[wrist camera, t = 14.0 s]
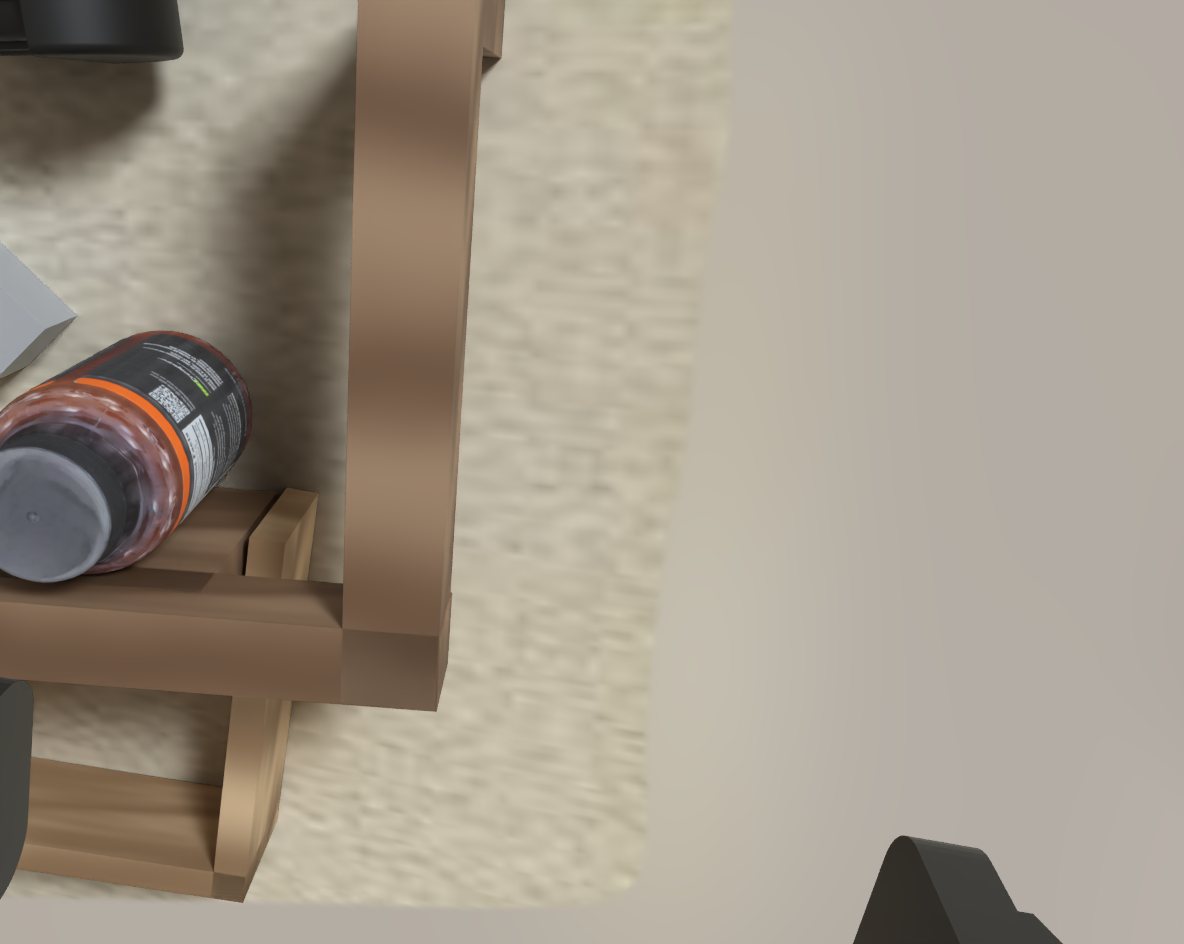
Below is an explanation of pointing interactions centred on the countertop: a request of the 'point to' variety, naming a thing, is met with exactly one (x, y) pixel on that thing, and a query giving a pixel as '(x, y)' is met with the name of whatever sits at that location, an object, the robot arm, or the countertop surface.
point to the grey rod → (26, 314)
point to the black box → (92, 30)
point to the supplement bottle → (116, 454)
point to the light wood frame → (177, 808)
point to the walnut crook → (374, 438)
